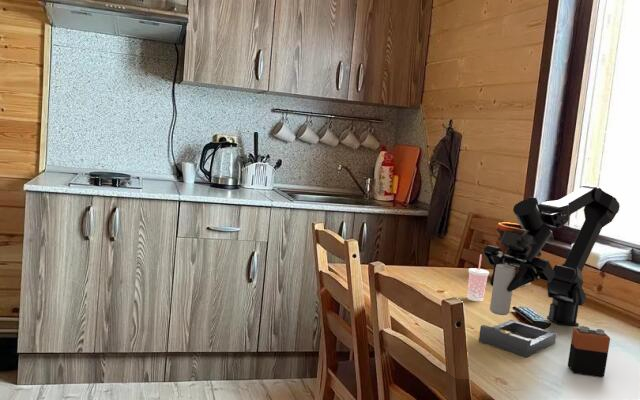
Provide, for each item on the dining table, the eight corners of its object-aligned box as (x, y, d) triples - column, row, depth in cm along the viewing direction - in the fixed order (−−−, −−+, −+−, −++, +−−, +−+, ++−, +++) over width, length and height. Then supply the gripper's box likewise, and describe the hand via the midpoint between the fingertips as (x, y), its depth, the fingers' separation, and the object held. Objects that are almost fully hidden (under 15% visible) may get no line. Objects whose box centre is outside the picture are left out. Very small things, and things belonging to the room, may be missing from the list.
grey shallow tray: (509, 328, 164) (512, 313, 163) (555, 342, 156) (557, 326, 155) (477, 342, 150) (479, 325, 150) (525, 358, 142) (527, 340, 142)
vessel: (497, 272, 233) (506, 220, 230) (535, 282, 225) (545, 228, 222) (483, 278, 221) (491, 223, 218) (522, 288, 213) (532, 231, 210)
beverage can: (512, 316, 155) (519, 269, 153) (493, 315, 154) (500, 268, 153) (504, 310, 160) (511, 264, 158) (486, 308, 159) (492, 263, 158)
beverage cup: (480, 303, 187) (486, 257, 185) (461, 298, 190) (467, 253, 189) (488, 300, 192) (494, 255, 190) (469, 295, 195) (475, 251, 194)
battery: (566, 366, 140) (573, 323, 139) (598, 370, 139) (605, 327, 138) (572, 373, 136) (579, 329, 134) (604, 378, 135) (611, 333, 134)
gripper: (491, 214, 164) (458, 258, 159) (554, 228, 149) (520, 276, 144) (506, 242, 169) (474, 285, 164) (568, 258, 155) (536, 306, 150)
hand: (499, 287), depth 155 cm, fingers closed on beverage can, 5 cm apart
